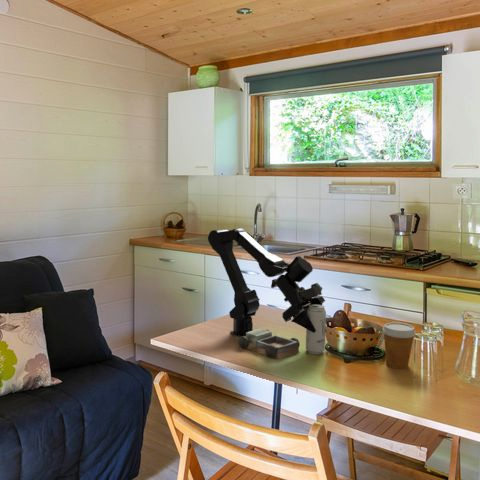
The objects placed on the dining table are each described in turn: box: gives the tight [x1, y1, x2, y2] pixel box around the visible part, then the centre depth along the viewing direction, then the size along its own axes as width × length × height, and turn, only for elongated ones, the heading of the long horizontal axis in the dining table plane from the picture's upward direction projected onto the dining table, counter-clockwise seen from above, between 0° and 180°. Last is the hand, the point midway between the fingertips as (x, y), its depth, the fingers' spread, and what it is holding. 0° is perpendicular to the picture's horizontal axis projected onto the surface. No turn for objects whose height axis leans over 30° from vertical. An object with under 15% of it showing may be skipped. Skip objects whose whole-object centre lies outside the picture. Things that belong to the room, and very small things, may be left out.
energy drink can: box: [305, 304, 327, 355], centre depth 171 cm, size 6×6×15 cm
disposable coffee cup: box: [382, 322, 416, 370], centre depth 161 cm, size 10×10×12 cm
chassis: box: [237, 328, 301, 360], centre depth 174 cm, size 17×12×4 cm
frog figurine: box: [376, 332, 385, 349], centre depth 176 cm, size 6×7×7 cm
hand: (319, 329), depth 170 cm, fingers closed on energy drink can, 6 cm apart
